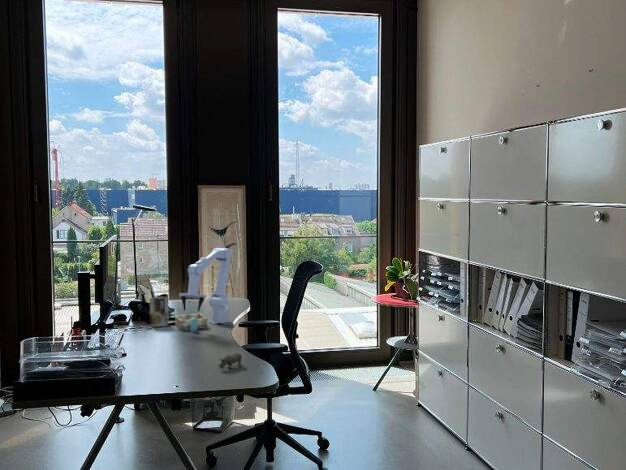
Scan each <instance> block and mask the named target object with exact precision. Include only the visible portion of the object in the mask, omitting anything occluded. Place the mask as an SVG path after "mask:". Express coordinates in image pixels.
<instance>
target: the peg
mask: <svg viewBox="0 0 626 470" xmlns="http://www.w3.org/2000/svg"><path fill="white" fill-rule="evenodd" d="M189 331H190V332H191V333H197V332H198V329H197V318H191V319H190V330H189ZM196 331H197V332H196Z"/></svg>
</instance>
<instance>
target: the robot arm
mask: <svg viewBox="0 0 626 470" xmlns="http://www.w3.org/2000/svg"><path fill="white" fill-rule="evenodd" d="M232 256H233V252H232V249H231V248H228V247H227V248H226V247H225V248H224V247H214V248H213V249H212V252H211V253H210V254H208V255H207V256H206V257H200V259H199V260H198V261H196V262H195V263H194V264H193V263H192V264H190V265H188V268H187V273H188V278H189V279H188V289H187V292H186V293H184V292H183V293H182V292H179V295H178V296H179V297H180V299H181V302H182V306H183V311H186V302H187V298H195V299H198V306H197V312H200V311H201V310H200V309H201V307H202V304H203V302H204V301H205V299H207V294H199V292H200V291H199V289H200V279H201V275H203V272H204V270H206V268H208V267H209V266H210V263H211V262H213V261H214V260H216V261H217V262H218V263H219V265H220V266H219V271H218V277H217V281H216V286H215V287H216V288H215V290H214V291H213V292H212V293H211V294H210V295H211V296H210V298H209V300H208V303H209V305H210V308H212V309H211V312H212V313H211V314H212V316H211V317H212V319H211V320H210V321H211V322H212V325H218V324H217V323H223V322H229V323H230V310H229V307H227V306H228V301H229V300H228V299H229V298H228V297H229V295H228V294H227V293H226V287H227V283H228V281H227V280H228V277H229V276H228V275H229V270H230V268H231V267H230V265H231V262H232ZM211 322H210V323H211ZM223 324H224V323H223Z"/></svg>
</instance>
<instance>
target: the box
mask: <svg viewBox="0 0 626 470" xmlns="http://www.w3.org/2000/svg"><path fill="white" fill-rule="evenodd" d="M174 318H175V319H174V321H175V326H176V327H177V328H178V330H179V331H180V332H181V331H191V330H190V319H191V318H197V330H202V329H201V328H204V329H208V318H207V317H206V316H204V314H203V313H191V314H177V315H175V316H174Z"/></svg>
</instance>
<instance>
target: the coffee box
mask: <svg viewBox="0 0 626 470" xmlns="http://www.w3.org/2000/svg"><path fill="white" fill-rule="evenodd" d="M169 313H170V312H169V296H152V297H151V298H149V317H150V318H149V319H150V322H149V323H150V325H149V327H166V326H167V327H168V325H169V324H170V323H169V322H170V320H169V319H170V318H169V317H170V316H169Z"/></svg>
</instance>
